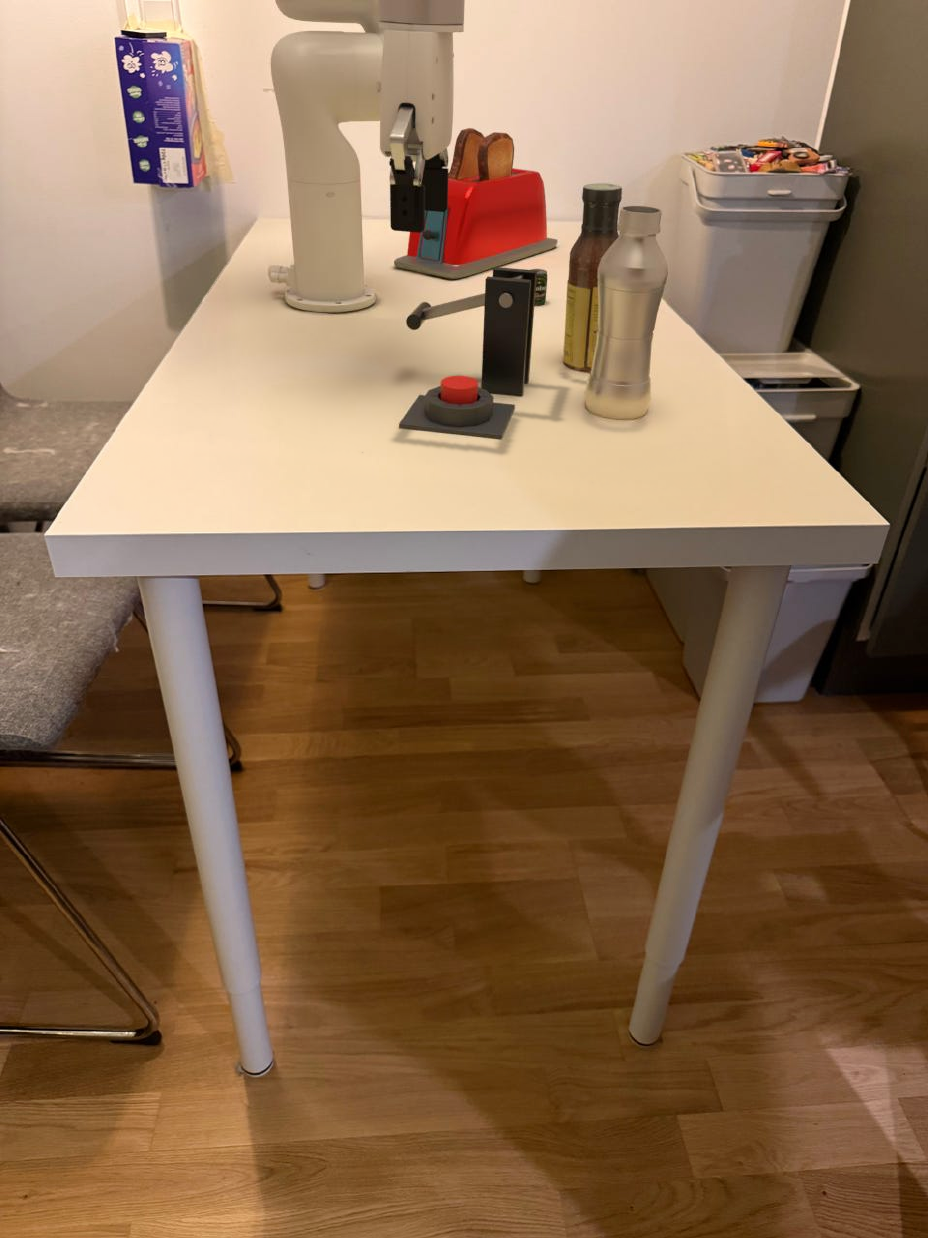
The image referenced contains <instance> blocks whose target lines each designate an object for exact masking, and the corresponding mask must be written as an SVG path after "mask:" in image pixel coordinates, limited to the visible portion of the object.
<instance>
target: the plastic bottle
mask: <svg viewBox="0 0 928 1238" xmlns="http://www.w3.org/2000/svg"><path fill="white" fill-rule="evenodd" d="M619 211H620V212H619V217H618V223H617V232H619V233H618V235H619V237H618V238H617V239H616V240H615V241H614V243H613V244H612V245H611V246H610V247H609V248H608V250H607V251H606V253H605V254H604V255H603V257H602V258H601V261H600V264H599V266H598V276H597V278H598V307H599V310H598V329H597V341H596V347H595V352H594V357H593V363H592V368H591V371H590V373H588V378H587V380H586V385H585V389H584V403H585V408H586V409H587V411H589V412H590V413H592V414H593V415H596V416H598V417H602V418H606V419H610V420H617V421H618V420H621V421H626V420H627V421H628V420H635V419H639V418H642V417H644V416H645V415H646V414H647V412H648V409H649V406H650V403H651V399H652V381H651V363H652V362H651V361H652V345H653V339H654V331H655V328H656V322H657V317H658V313H659V309H660V305H661V302H662V298H663V295H664V290H665V287H666V285H667V280H668V275H669V270H668V269H669V268H668V262H667V260H666V257H665V254H664V252H663V250H662V248H661V247H660V244H659V242H658V241H657V235H659V234H660V232H661V220H662V209H660V208H657V207H653V206H645V205H626V206H622V207H621V208H620V210H619Z"/></svg>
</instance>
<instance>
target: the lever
mask: <svg viewBox="0 0 928 1238" xmlns="http://www.w3.org/2000/svg"><path fill="white" fill-rule="evenodd" d="M513 279H523V275H521V276H517V277H513ZM482 307H485V292H484V293H480V294H477V295H472V296H468V297H465V298H464V297H463V298H460V299H456V300H452V301H448V302H444V303H440V304H436V305H433V306H432V305H431V303H430V302H427V301H421V302H420V303H418V305H417V306H416V307H415V309H413V310H412V312H410V314H409V315H408V316H407V317H406V319H405V321H406V322H405V323H406V326H407V328H408V329H410V330H411V331H416V330H418V329H420V327H422V326H423V324H424V323H425V322H426V321H428V320H432V319H437V318H440V317H444V316H449V315H453V314H457V313H461V312H465V311H469V310H472V309H473V310H474V309H477V308H482Z"/></svg>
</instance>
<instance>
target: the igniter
mask: <svg viewBox="0 0 928 1238" xmlns="http://www.w3.org/2000/svg"><path fill="white" fill-rule="evenodd" d="M515 409H516V404H512V403H503V402H495V401H494V395H493V394H490V393H489V392H488V391H487V390H484V389H482V388H481V387H479V386H478V398H477V402H474V403H472V404H462V405H459V404H450V403H447V402H444V401H441V385H439V386H436V387H434V388H433V387H432V388H431V389H428V390H427V392H426V393H425V394H419V395H418V396H417V398H416V399H415V400H414V402H413V403H412V405H411V406H410V408H409V409H408V410H407V412H406V413H405V415H404V416H403V417H402V419H401V420H400V422H399V423H398V428H399V429H402V430H413V431H420V432H429V433H430V432H431V433H438V434H439V433H440V434H447V435H457V436H464V437H474V438H484V439H493V440H502V439H503V438H504V435H505V433H506V431H507V427H508V425H509V423H510V421H511V419H512V416H513V415H514V412H515Z"/></svg>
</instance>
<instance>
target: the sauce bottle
mask: <svg viewBox="0 0 928 1238" xmlns="http://www.w3.org/2000/svg"><path fill="white" fill-rule="evenodd" d="M622 195H623V187H622V186H621V185H619V184H613V183H607V182H606V183H605V182H601V183H600V182H599V183H598V182H597V183H587V184H585V185H583V186H582V193H581V200H582V203H583V209H582V223H581V226H580V229H581V230H580V231H581V232H580V234H579V236H578V237H577V239H576V241H575V242H574V244H573V246H572V247H571V249H570V252H569V261H568V278H567V283H566V302H565V321H564V322H565V323H564V337H563V338H564V339H563V356H562V357H563V358H562V360H563V363H564V364H565V366H566V367H568V368H569V369H571V370H574V371H578V372H582V373H587V374H590V371H591V368H592V363H593V357H594V352H595V347H596V341H597V329H598V310H599V307H598V278H597V276H598V266H599V264H600V261H601V258H602V257H603V255H604V254H605V253H606V251H607V250H608V248H609V247H610V246H611V245H612V244H613V243H614V241H615V240H616V239H617V238H618V237H619V231H618V230H617V225H618V223H619V213H620V212H619V211H620V210H619V209H620V203H621V201H622V199H623V197H622Z"/></svg>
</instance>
